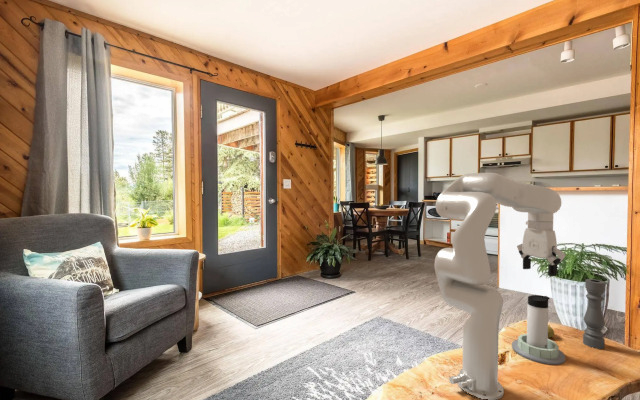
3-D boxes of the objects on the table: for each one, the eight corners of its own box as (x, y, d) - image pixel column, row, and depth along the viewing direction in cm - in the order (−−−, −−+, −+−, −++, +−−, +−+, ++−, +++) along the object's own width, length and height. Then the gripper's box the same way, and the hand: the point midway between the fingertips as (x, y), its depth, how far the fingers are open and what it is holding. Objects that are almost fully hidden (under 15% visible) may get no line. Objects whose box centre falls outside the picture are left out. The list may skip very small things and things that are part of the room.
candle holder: (604, 344, 118) (606, 280, 117) (604, 350, 113) (606, 284, 113) (583, 339, 122) (584, 277, 121) (582, 345, 118) (584, 281, 117)
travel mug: (552, 355, 109) (553, 299, 108) (531, 353, 110) (532, 298, 109) (542, 346, 115) (544, 294, 114) (523, 344, 116) (524, 292, 116)
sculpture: (529, 325, 126) (531, 319, 132) (529, 335, 126) (531, 328, 132) (553, 331, 121) (554, 325, 127) (553, 341, 121) (554, 334, 127)
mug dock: (542, 368, 103) (542, 356, 102) (501, 344, 118) (502, 334, 118) (576, 360, 107) (577, 349, 107) (533, 339, 122) (533, 329, 122)
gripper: (511, 223, 118) (510, 267, 119) (556, 228, 102) (555, 279, 102) (526, 223, 120) (525, 266, 121) (573, 228, 104) (571, 277, 104)
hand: (539, 272), depth 111 cm, fingers open, 9 cm apart
